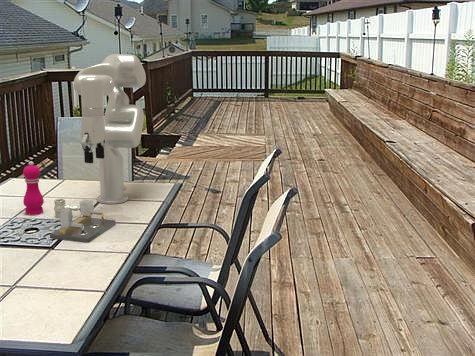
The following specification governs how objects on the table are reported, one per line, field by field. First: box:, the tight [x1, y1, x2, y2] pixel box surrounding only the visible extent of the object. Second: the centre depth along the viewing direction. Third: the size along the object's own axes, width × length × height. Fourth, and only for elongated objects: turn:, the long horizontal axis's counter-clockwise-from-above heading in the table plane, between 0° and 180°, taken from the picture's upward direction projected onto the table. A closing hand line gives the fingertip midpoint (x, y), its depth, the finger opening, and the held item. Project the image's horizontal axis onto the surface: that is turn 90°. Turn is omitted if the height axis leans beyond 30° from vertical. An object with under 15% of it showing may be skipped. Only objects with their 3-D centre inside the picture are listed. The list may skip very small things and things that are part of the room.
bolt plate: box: [49, 209, 116, 244], centre depth 199 cm, size 20×14×9 cm
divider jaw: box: [79, 199, 105, 220], centre depth 206 cm, size 3×8×6 cm, turn 75°
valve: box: [53, 198, 80, 219], centre depth 214 cm, size 7×7×12 cm
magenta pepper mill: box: [22, 160, 45, 216], centre depth 216 cm, size 7×7×20 cm
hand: (94, 160), depth 209 cm, fingers open, 7 cm apart
